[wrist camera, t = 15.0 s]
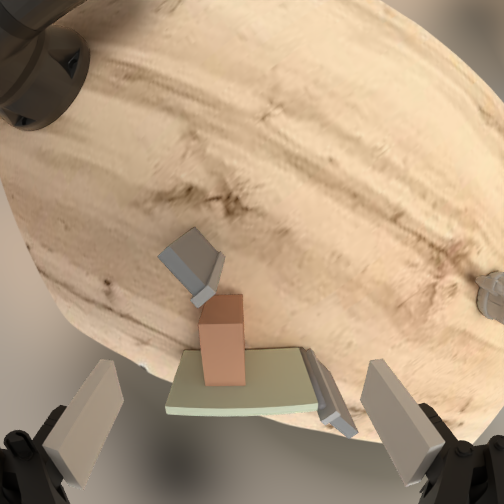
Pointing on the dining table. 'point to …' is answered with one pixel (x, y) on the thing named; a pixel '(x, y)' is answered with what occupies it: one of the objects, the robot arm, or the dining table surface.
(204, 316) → the orange brown rectangular block
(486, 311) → the mug
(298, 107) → the dining table surface
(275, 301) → the dining table surface
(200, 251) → the frame
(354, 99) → the dining table surface
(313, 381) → the door
